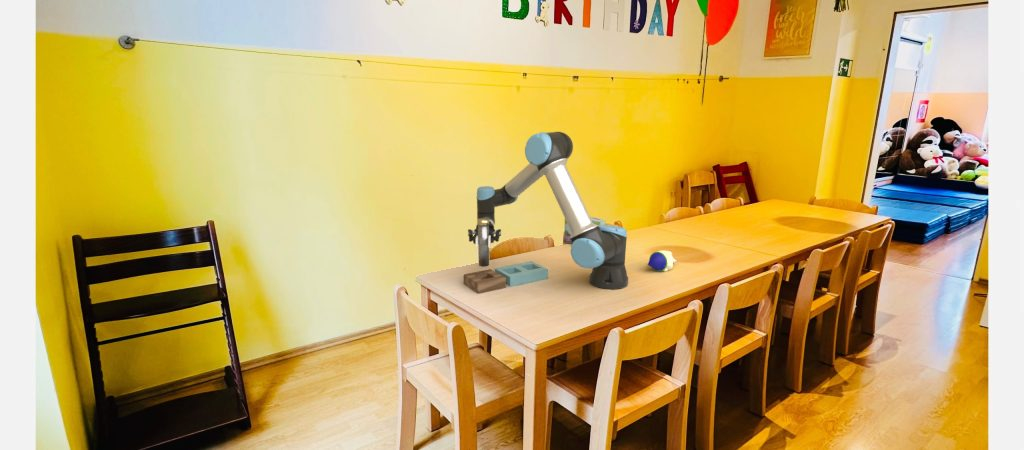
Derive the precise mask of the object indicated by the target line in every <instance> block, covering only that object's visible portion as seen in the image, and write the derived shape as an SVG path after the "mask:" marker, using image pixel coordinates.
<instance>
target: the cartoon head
mask: <svg viewBox="0 0 1024 450" xmlns="http://www.w3.org/2000/svg"><path fill="white" fill-rule="evenodd" d="M677 262H678V260H676V259H675V258H674V256H673V252H671V251H670V250H663V249H662V250H658V251H654V252H652V253H651V254H650V255H649V260H648V263H647V266H649V267H651V268H652V269H653V270H654V271H657V272H662V271H663V272H664V273H665V272H668V271H669V270H672V269H673V268H674V264H675V263H677Z"/></svg>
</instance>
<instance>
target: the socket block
mask: <svg viewBox="0 0 1024 450" xmlns="http://www.w3.org/2000/svg"><path fill="white" fill-rule="evenodd" d="M463 285H465V286H466V287H467V288H469V289H470V290H472V291H474V292H475V293H476V294H478V295H479V294H483V293H487V292H488V293H489V292H492V291H493V292H494V291H497V290H502V289H507V285H506V278H505V277H503V276H502V275H500V274H498V273H496V272H495V270H492V269H484V270H479V271H473V272H468V273H463Z"/></svg>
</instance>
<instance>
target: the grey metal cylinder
mask: <svg viewBox="0 0 1024 450" xmlns="http://www.w3.org/2000/svg"><path fill="white" fill-rule="evenodd" d="M477 225H478V247H477V248H478V266H479V267H481V268H482V267H489V266H490V247H488V238H489V219H488V218H479V219H476V226H477Z"/></svg>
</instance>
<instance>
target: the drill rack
mask: <svg viewBox="0 0 1024 450" xmlns="http://www.w3.org/2000/svg"><path fill="white" fill-rule="evenodd" d="M494 272H496V273H498V274H500V275H502V276H503V277H505V278H506V286H508V287H509V288H511V287H516V286H521V285H525V284H529V283H534V282H539V281H543V280H544V281H545V280H548V279H549V269H548V267H547V268H546V267H544V266H542V265H540V264H538V263H536V262H534V261H526V262H525V261H524V262H521V263H516V264H511V265H505V266H501V267H500V266H499V267H496V268H494Z"/></svg>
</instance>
